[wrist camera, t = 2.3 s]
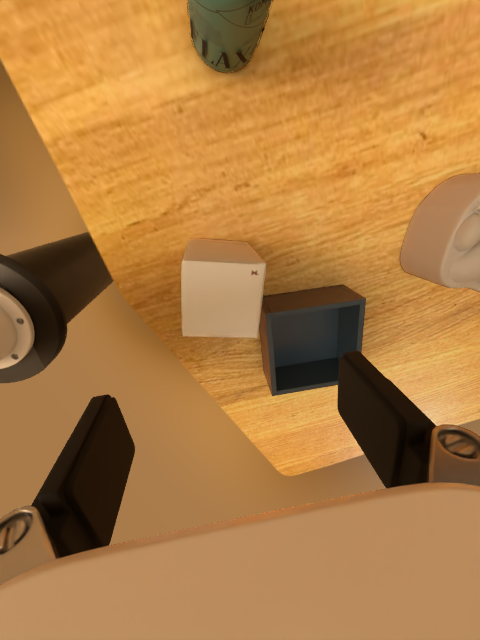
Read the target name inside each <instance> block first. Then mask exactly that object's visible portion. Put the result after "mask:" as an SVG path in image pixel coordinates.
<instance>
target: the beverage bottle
mask: <svg viewBox="0 0 480 640" xmlns="http://www.w3.org/2000/svg"><path fill="white" fill-rule="evenodd" d="M187 1H188V0H187ZM271 1H273V0H189V3H188V2H187V3H188V4H189V6H187V7H189V9H188V10H187V11H189V13H190V14H189V15H190V27H191V36H192V39H193V42H194V45H195V48H194V49H196V50H197V52H198V54H199V55H200V56H201V58H202V59H203V60H204V63H205V64H206V65H207V66H210V68H213V69H215V70H216V71H220V72H223V73H226V72H229V73H231V72H232V71H234V72H235V70H237V71H238V69H239V68H241V67H242V66H244V65H245V64H246V63H248V62H250V61H251V60H250V61H249V59H250V58H251V56H252V55H253V53H254V51H255V48H256V45H257V42H258V39H259V36H260V35H261V34H260V33H261V31H262V33H263V31H264V28H265V27H264V28H263V25H264V26H265V25H266V22H267V21H265V19H266V17H267V13H268V10H269V7H270V4H271ZM189 15H188V16H189ZM268 15H269V14H268ZM268 17H269V16H268ZM264 22H265V24H264ZM188 24H189V23H188ZM262 28H263V29H262ZM189 33H190V32H189ZM261 36H262V35H261ZM260 39H261V37H260ZM259 42H260V41H259ZM192 44H193V43H192ZM258 45H259V44H258ZM257 48H258V46H257ZM196 50H195V51H196ZM199 55H198V56H199ZM252 57H253V56H252ZM202 59H201V60H202ZM203 60H202V61H203ZM245 66H246V65H245ZM245 66H244V67H245ZM241 69H242V68H241Z"/></svg>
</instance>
